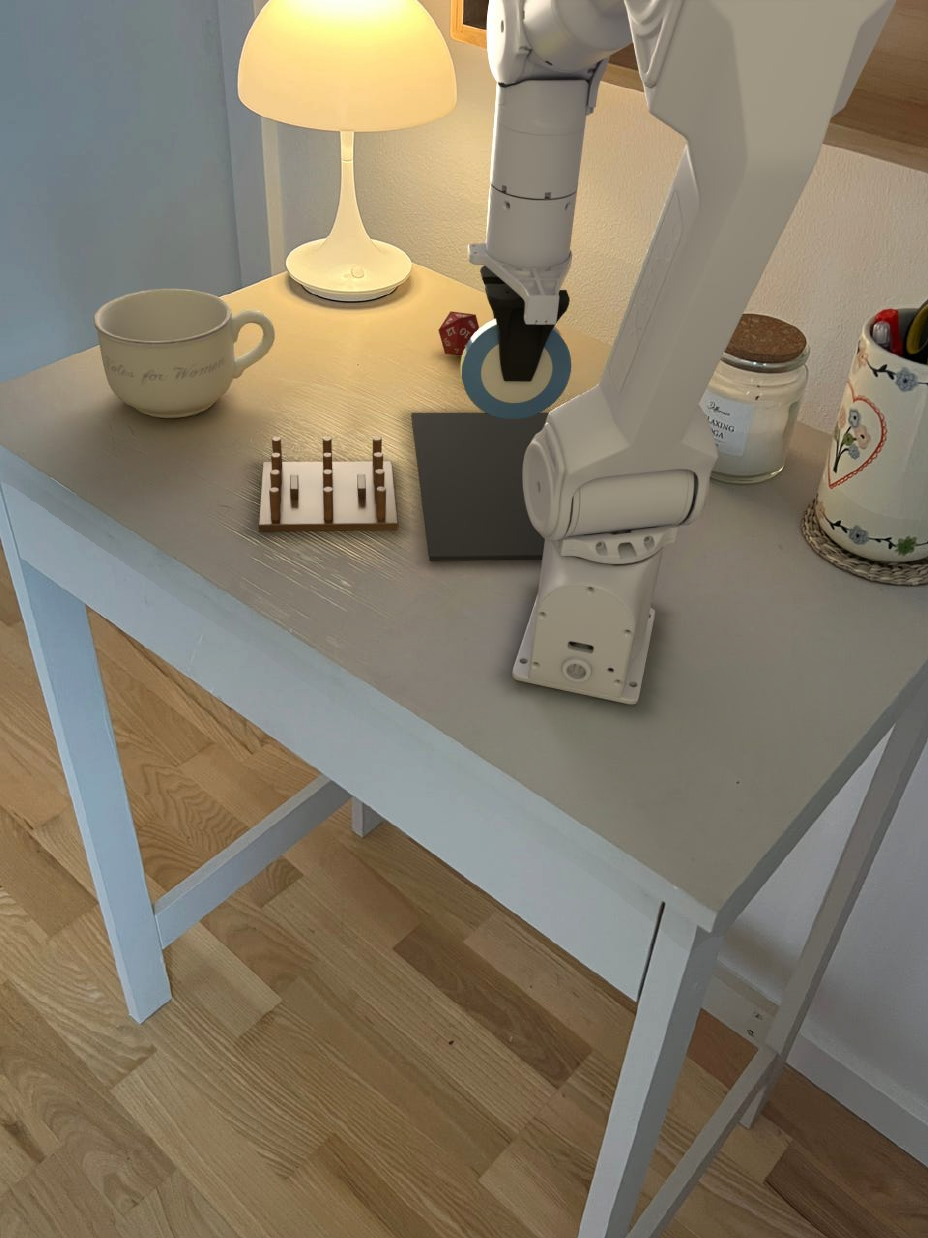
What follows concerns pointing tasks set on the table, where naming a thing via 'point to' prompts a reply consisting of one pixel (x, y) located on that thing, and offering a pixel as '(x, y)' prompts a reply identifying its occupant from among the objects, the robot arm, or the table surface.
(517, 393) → the plate
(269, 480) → the rack
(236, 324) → the teacup
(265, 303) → the table surface
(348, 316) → the table surface
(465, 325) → the dice
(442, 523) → the placemat
